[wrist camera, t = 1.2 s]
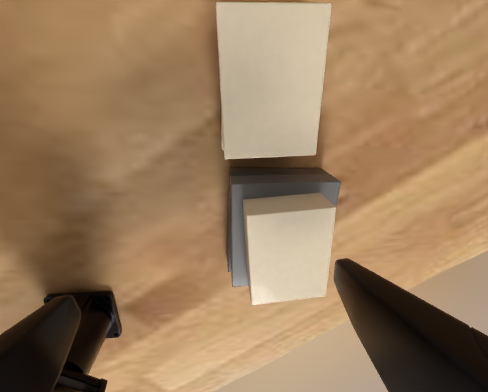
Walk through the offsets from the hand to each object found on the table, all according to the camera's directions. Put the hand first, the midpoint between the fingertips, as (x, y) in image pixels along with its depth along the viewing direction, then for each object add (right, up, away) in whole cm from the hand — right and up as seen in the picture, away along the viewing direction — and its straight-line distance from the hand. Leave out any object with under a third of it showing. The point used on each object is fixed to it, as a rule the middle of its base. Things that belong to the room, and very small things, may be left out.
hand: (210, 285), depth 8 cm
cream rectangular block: (+4, 0, +11) cm, 12 cm away
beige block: (+2, +11, +10) cm, 15 cm away
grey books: (+4, +1, +15) cm, 15 cm away
